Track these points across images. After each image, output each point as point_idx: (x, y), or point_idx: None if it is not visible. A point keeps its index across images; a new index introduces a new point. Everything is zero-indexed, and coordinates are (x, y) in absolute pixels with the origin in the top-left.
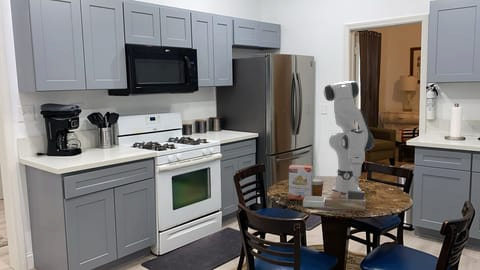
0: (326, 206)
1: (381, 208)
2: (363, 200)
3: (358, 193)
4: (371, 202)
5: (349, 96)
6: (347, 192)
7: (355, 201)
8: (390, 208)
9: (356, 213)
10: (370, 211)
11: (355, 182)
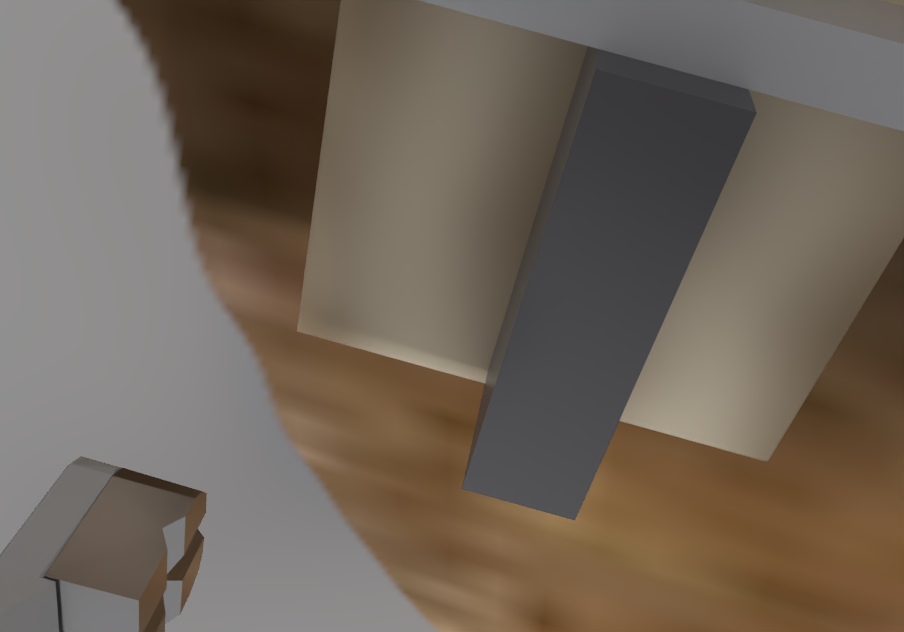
0: None
1: None
2: (416, 331)
3: (506, 346)
4: (853, 482)
5: None
6: (754, 61)
7: (325, 134)
8: (483, 586)
9: (161, 25)
10: None
11: (41, 508)
